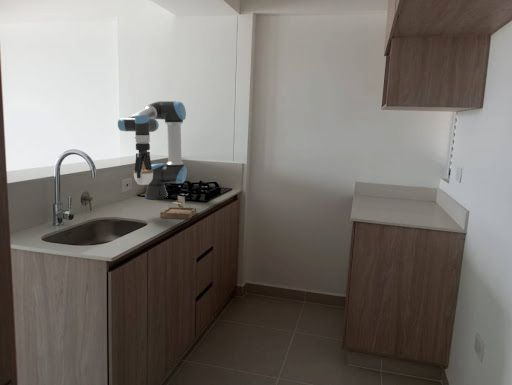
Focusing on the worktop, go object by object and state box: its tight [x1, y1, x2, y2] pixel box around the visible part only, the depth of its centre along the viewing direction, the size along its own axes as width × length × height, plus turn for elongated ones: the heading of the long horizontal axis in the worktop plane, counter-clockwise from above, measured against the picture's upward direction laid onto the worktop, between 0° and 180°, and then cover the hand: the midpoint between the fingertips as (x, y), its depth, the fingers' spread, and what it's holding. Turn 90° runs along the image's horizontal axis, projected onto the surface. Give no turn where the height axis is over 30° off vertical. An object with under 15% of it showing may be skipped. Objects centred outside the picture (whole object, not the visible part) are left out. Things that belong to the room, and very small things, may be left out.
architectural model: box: [172, 195, 186, 208], centre depth 258 cm, size 3×7×7 cm, turn 55°
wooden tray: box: [159, 206, 197, 220], centre depth 238 cm, size 16×16×3 cm
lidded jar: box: [133, 166, 153, 186], centre depth 237 cm, size 11×11×9 cm
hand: (143, 182), depth 237 cm, fingers closed on lidded jar, 11 cm apart
